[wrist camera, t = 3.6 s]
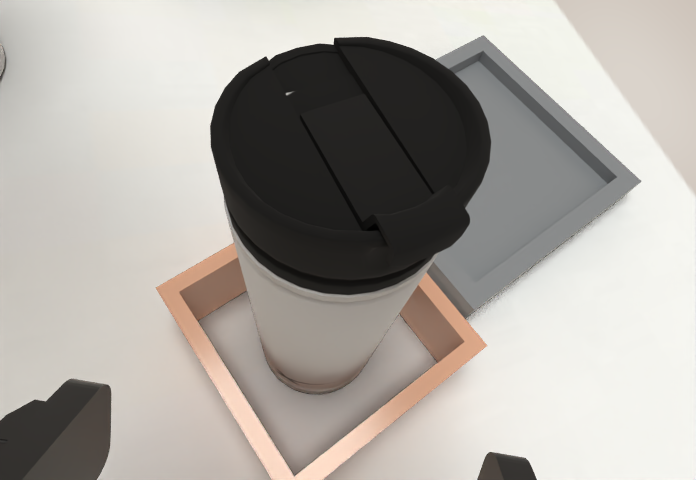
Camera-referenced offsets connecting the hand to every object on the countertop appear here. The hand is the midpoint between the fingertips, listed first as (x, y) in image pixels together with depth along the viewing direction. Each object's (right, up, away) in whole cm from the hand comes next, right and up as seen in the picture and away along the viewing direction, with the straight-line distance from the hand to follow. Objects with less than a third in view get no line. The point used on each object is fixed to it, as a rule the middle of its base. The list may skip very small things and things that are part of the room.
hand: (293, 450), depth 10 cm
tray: (+10, +10, +24) cm, 28 cm away
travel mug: (-1, -2, +18) cm, 18 cm away
